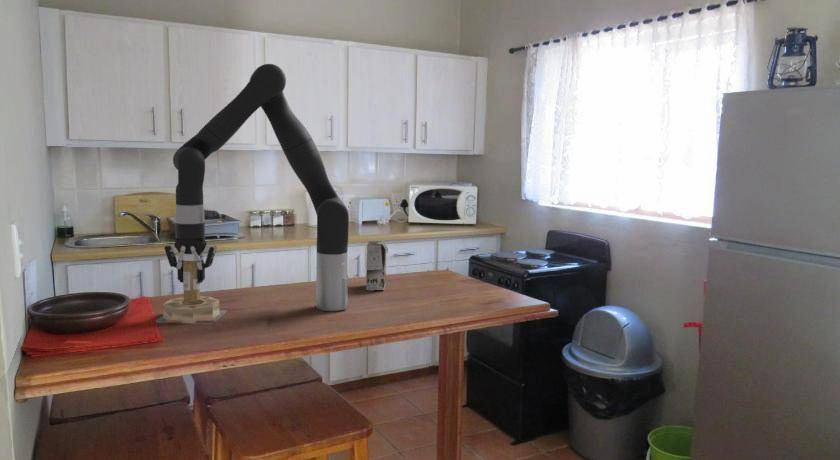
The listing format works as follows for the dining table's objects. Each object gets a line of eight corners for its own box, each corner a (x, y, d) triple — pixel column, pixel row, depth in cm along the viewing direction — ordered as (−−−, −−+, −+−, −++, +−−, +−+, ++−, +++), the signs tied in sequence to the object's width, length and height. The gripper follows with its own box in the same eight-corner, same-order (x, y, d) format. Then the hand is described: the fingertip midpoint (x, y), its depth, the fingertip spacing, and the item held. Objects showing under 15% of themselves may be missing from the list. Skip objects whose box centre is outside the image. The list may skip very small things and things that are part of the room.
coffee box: (384, 291, 207) (385, 245, 204) (365, 290, 207) (366, 244, 204) (386, 285, 216) (387, 241, 213) (368, 284, 216) (369, 240, 214)
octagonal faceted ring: (223, 310, 174) (223, 297, 174) (208, 323, 161) (207, 309, 160) (176, 309, 174) (176, 295, 174) (157, 322, 161) (156, 308, 160)
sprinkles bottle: (202, 301, 166) (201, 253, 165) (185, 303, 164) (184, 254, 162) (198, 297, 170) (197, 251, 168) (181, 299, 168) (180, 252, 166)
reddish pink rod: (214, 321, 163) (214, 318, 163) (214, 322, 162) (214, 319, 162) (166, 322, 161) (166, 319, 161) (165, 323, 160) (165, 320, 160)
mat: (228, 312, 175) (228, 310, 175) (212, 326, 161) (212, 324, 161) (172, 310, 174) (172, 308, 174) (152, 324, 160) (152, 322, 160)
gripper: (220, 220, 168) (221, 279, 170) (169, 218, 168) (170, 278, 170) (211, 223, 160) (212, 285, 163) (158, 221, 160) (159, 284, 162)
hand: (191, 281), depth 166 cm, fingers closed on sprinkles bottle, 4 cm apart
